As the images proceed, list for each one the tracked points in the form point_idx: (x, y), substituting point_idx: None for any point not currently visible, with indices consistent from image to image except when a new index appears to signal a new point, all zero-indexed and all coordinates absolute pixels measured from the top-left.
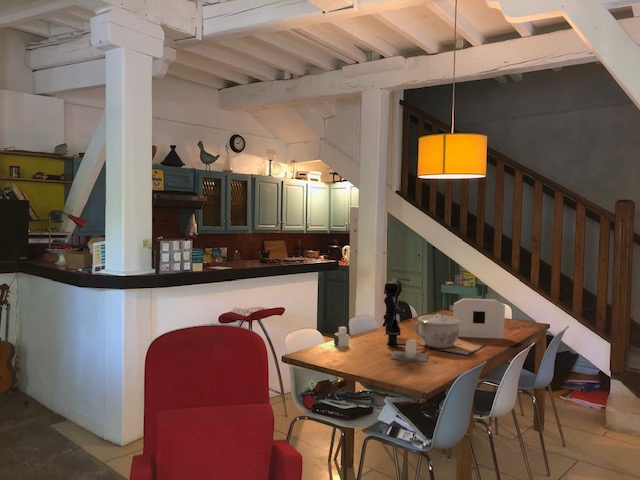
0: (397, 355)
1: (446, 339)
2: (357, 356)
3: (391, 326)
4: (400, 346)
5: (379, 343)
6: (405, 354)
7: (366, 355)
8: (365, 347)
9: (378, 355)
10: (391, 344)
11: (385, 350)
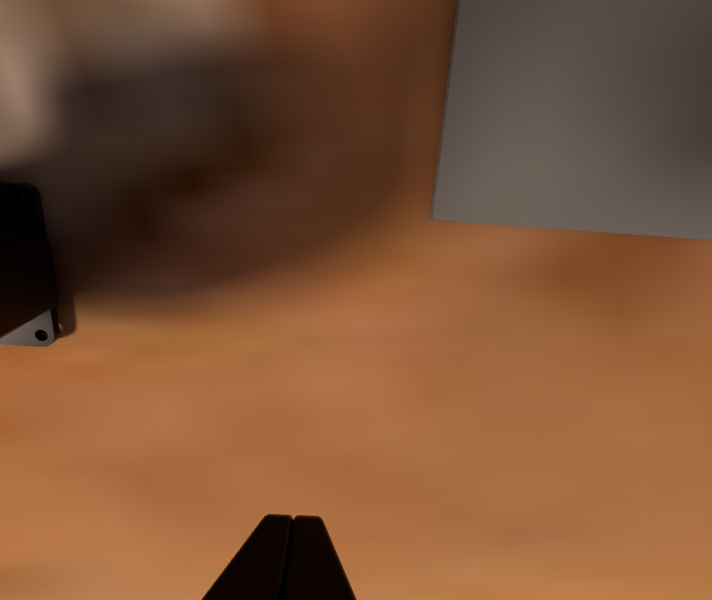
0: (698, 151)
1: None
2: (690, 589)
3: (352, 590)
4: (49, 122)
5: (18, 436)
6: (630, 11)
7: (646, 519)
8: None
9: (639, 401)
10: (52, 277)
11: (374, 336)
